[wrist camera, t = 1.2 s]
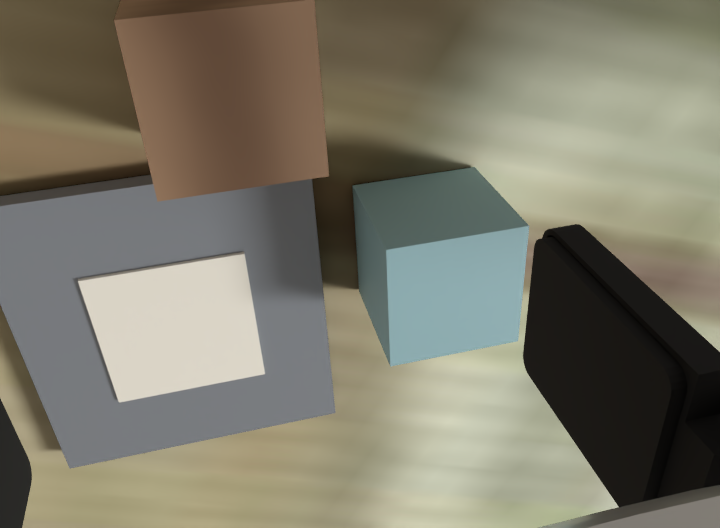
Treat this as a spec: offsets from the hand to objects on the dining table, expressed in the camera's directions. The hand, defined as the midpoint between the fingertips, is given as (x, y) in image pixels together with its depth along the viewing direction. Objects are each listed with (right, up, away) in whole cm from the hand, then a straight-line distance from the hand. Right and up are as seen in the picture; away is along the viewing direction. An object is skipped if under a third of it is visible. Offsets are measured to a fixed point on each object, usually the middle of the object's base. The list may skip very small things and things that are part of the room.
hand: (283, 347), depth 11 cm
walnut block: (-4, +10, +15) cm, 19 cm away
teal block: (+4, +3, +22) cm, 22 cm away
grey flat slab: (-7, -1, +21) cm, 22 cm away
